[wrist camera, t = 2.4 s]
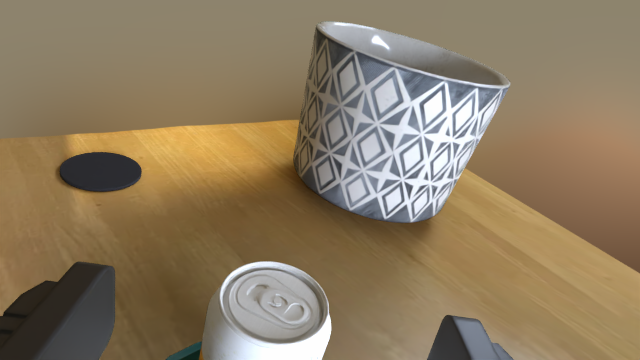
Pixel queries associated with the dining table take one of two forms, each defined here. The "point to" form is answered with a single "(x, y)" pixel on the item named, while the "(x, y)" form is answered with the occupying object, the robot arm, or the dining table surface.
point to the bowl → (188, 353)
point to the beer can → (267, 315)
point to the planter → (390, 121)
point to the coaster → (100, 171)
